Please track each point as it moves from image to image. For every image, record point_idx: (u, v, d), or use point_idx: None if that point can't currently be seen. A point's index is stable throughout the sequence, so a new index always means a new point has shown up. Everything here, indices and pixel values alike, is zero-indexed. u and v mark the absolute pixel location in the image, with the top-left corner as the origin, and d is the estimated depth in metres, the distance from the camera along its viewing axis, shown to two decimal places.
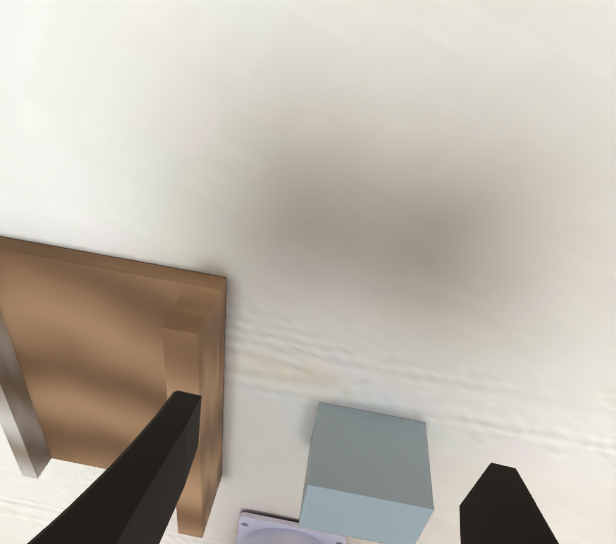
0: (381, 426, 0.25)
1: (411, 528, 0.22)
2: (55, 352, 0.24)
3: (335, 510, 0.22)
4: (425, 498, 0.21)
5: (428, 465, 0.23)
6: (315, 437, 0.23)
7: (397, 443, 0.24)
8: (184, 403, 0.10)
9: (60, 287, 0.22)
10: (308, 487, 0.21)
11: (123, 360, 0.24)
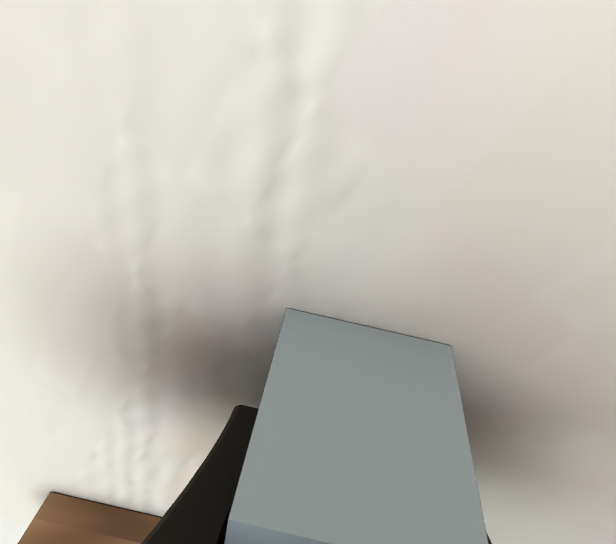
0: None
1: None
2: None
3: None
4: None
5: (261, 400, 0.09)
6: None
7: None
8: (249, 418, 0.10)
9: None
10: None
11: None
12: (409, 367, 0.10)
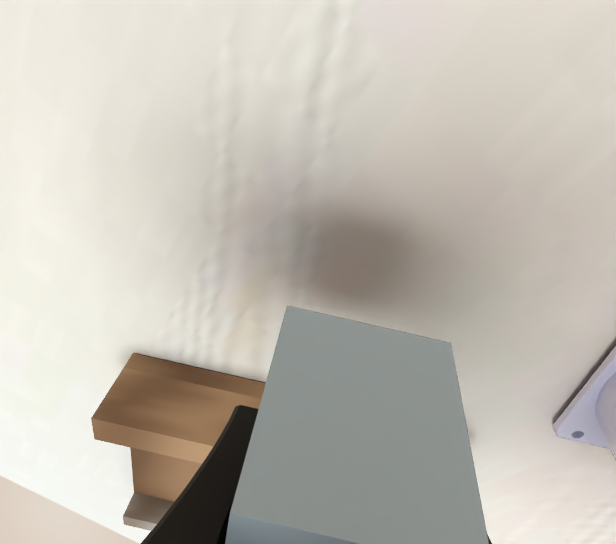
0: None
1: None
2: None
3: None
4: None
5: (262, 396, 0.09)
6: None
7: None
8: (249, 418, 0.10)
9: (158, 465, 0.26)
10: None
11: None
12: (409, 364, 0.10)
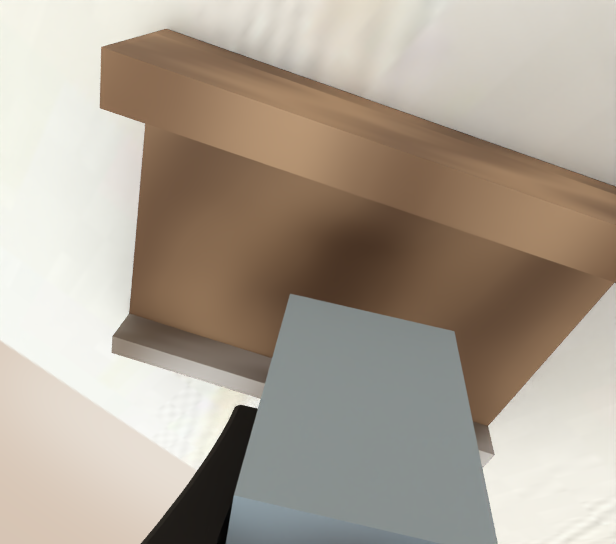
0: None
1: (359, 543, 0.07)
2: (280, 317, 0.19)
3: None
4: None
5: None
6: None
7: None
8: (249, 417, 0.10)
9: (174, 259, 0.18)
10: None
11: (295, 238, 0.17)
12: (413, 351, 0.10)
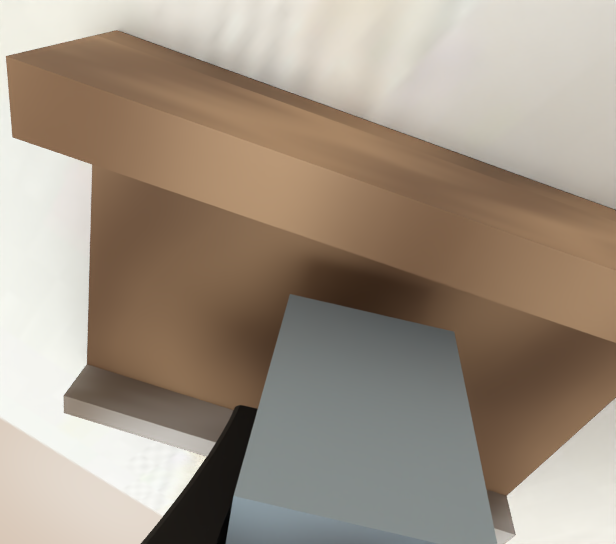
0: None
1: None
2: (263, 373, 0.16)
3: None
4: None
5: (265, 382, 0.09)
6: None
7: None
8: (249, 417, 0.10)
9: (136, 306, 0.15)
10: None
11: (281, 287, 0.14)
12: (412, 352, 0.10)
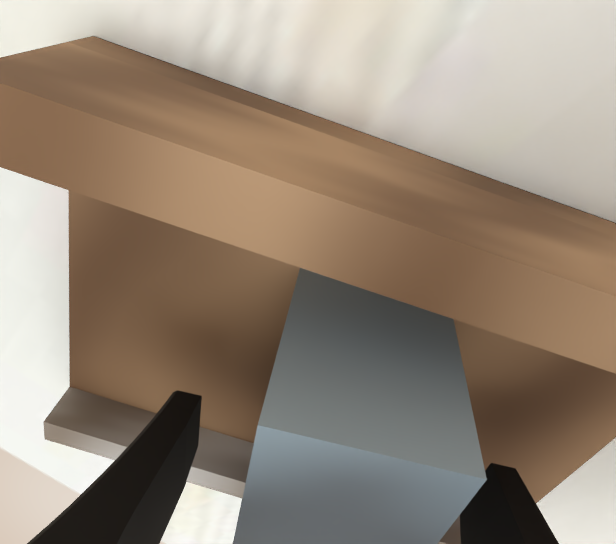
0: None
1: (365, 470, 0.08)
2: (256, 397, 0.15)
3: None
4: None
5: (281, 337, 0.10)
6: None
7: None
8: (184, 403, 0.10)
9: (120, 328, 0.14)
10: None
11: (273, 309, 0.13)
12: (412, 316, 0.11)
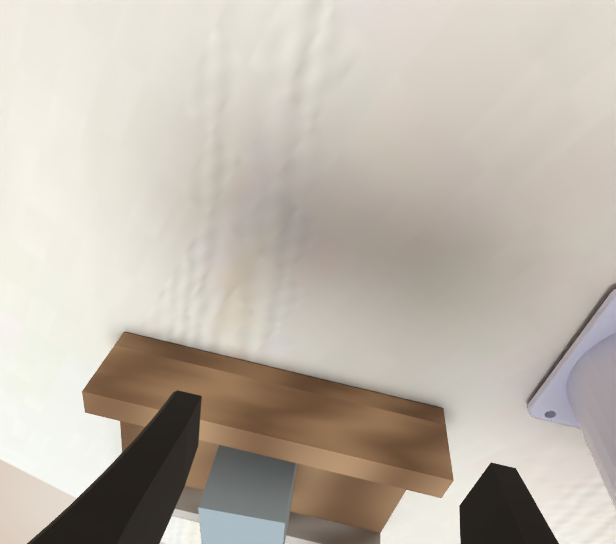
0: None
1: (241, 521, 0.21)
2: None
3: None
4: None
5: (213, 463, 0.22)
6: None
7: None
8: (184, 403, 0.10)
9: None
10: None
11: None
12: None
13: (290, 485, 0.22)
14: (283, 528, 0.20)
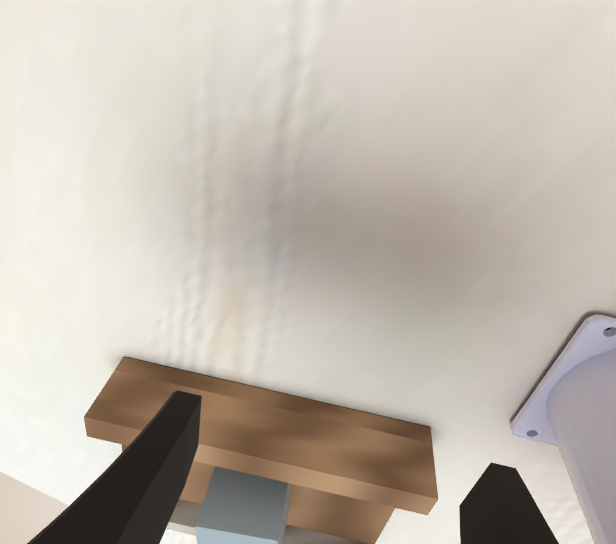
0: None
1: (236, 539, 0.22)
2: None
3: None
4: None
5: None
6: None
7: None
8: (184, 403, 0.10)
9: None
10: None
11: None
12: None
13: (283, 503, 0.23)
14: None
